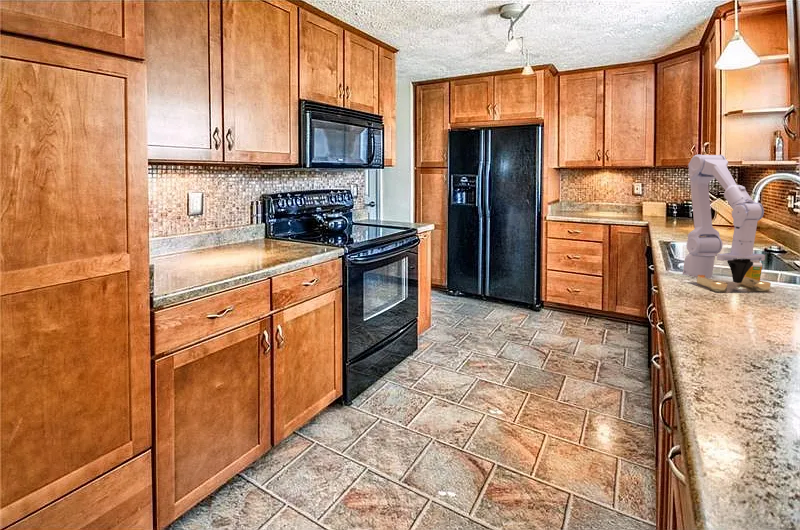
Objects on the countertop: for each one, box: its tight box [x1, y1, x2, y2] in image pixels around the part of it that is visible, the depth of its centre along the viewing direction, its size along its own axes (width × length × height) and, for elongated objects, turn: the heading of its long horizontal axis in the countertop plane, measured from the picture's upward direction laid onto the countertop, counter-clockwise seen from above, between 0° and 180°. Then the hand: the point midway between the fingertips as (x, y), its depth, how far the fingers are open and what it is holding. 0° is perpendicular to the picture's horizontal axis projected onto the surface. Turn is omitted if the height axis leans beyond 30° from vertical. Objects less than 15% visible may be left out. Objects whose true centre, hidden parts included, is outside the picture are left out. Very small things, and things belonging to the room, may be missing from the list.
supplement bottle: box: [745, 260, 763, 281], centre depth 166 cm, size 5×5×10 cm
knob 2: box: [739, 275, 772, 292], centre depth 154 cm, size 11×4×3 cm, turn 3°
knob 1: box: [696, 275, 728, 292], centre depth 153 cm, size 11×4×3 cm, turn 3°
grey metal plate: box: [687, 281, 775, 294], centre depth 155 cm, size 14×19×3 cm
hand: (737, 282), depth 156 cm, fingers closed
